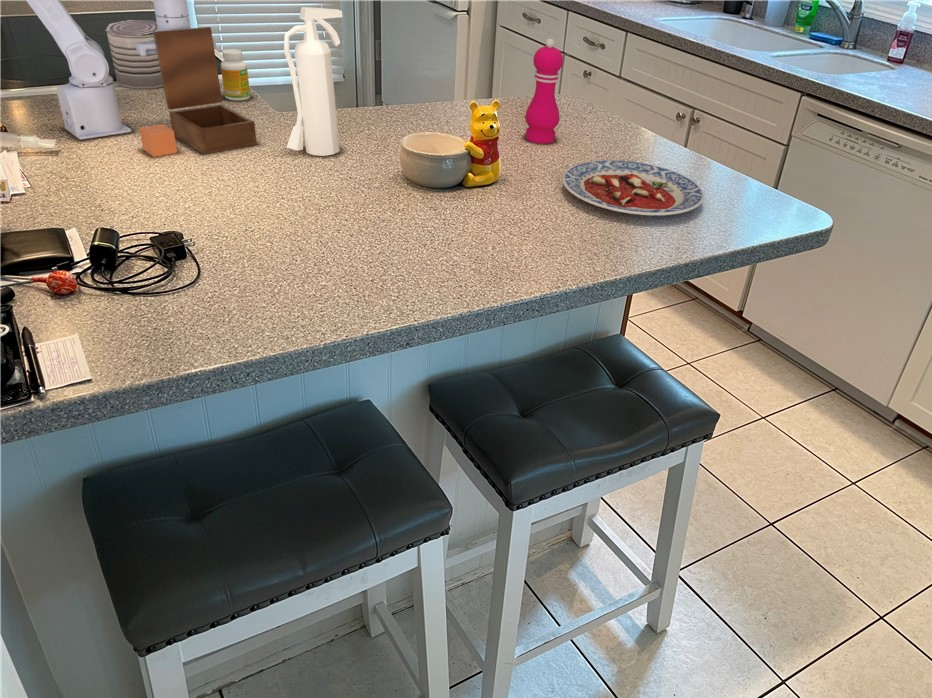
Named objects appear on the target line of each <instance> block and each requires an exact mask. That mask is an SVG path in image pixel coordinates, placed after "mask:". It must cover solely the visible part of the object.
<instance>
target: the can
mask: <svg viewBox="0 0 932 698" xmlns="http://www.w3.org/2000/svg"><path fill="white" fill-rule="evenodd" d="M104 31H106V36H107V41H108V44H109V50H110V55H111V60H112V64H113V70H114V73H115V79H116V83H117V84H118V85H120V86H121V87H122V88H128V89H134V90H135V89H136V90H151V89H153V90H154V89H158V88H162V87H163V88H164V86H163V81H162V76H161V71H160V65H159V60H158V55H157V54H148V55H147V56H141V55H139V54H137V50H136V45H135V43H138V42H145V41H150V40H155V39H154V34H153V31H158V28H157V22H156V21H154V20H151V19H126V20H122V21H117V22H112V23H109V24H108V25H107V27H106V28H105V29H104Z"/></svg>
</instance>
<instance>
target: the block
mask: <svg viewBox="0 0 932 698" xmlns="http://www.w3.org/2000/svg"><path fill="white" fill-rule="evenodd" d="M138 130H139V134H140V135H139V136H140V139H141V146H142V150H143V151H145V153H147V154H148V155H150V156H152V157H153V158H156V157H162V156H167V155H172V154H178V148H177V142H176V141H177V140H176V136H175V135H174V131H173V130H172V128H171V127H168V126H167V125H165V124H164V123H163V124H155V125H148V126H143V127H139V128H138Z"/></svg>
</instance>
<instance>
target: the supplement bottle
mask: <svg viewBox="0 0 932 698" xmlns="http://www.w3.org/2000/svg"><path fill="white" fill-rule="evenodd" d="M222 58H223V59H224V60H222V61H221V62H220V72H221V78H222V79H221V80H222V87H223V95H224V98H225V99H227V100H228V101H235V102H236V101H237V102H239V101H247V100H249V99H250V98H251V91H250V81H249V73H248V71H249V70H248V64H247V63H246V62H245V61H244V60H243V51H242V50H241V49H237V48H236V49H235V48H226V49H224V50H222Z"/></svg>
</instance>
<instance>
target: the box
mask: <svg viewBox="0 0 932 698" xmlns="http://www.w3.org/2000/svg"><path fill="white" fill-rule="evenodd" d="M169 118H170V125H171V130H173V131H174V135H175V138H177V139H178V140H181V141H183V142H184V143H185V144H186V145H188V146H189V147H192V148H193V149H195V150H197V151H198V152H200V153H201V154H203V155H208V154H214V153H218V152H223V151H224V152H225V151H230V150H235V149H241V148H246V147H253V146H257V145H258V143H257V142H258V141H257V134H256V126H255V125H256V124H255V121H254V120H252V119H250V118H248V117H247V116H244V115H243V114H241V113H239V112H237V111H235V110H233V109H232V108H229V107H228V106H226V105H224V104H214V105H207V106H201V107H194V108H193V107H192V108H187V109H180V110H172V111H169Z"/></svg>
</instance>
